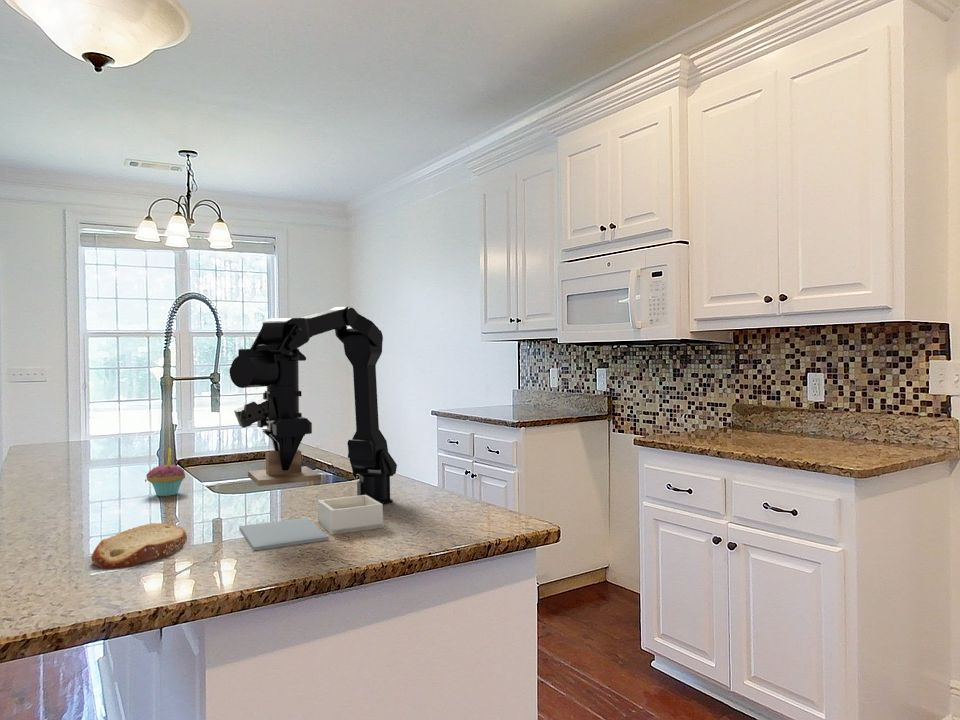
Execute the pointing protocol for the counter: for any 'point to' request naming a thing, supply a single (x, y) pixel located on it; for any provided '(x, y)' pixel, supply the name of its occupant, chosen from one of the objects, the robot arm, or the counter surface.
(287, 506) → the counter surface
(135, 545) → the slice of bread
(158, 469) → the cupcake
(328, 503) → the dish
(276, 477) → the lid
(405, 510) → the counter surface
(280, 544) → the mat
